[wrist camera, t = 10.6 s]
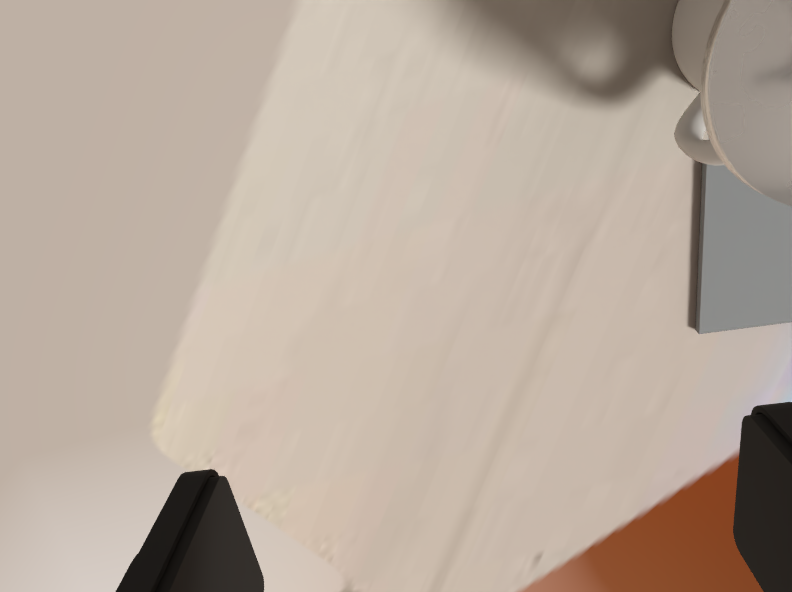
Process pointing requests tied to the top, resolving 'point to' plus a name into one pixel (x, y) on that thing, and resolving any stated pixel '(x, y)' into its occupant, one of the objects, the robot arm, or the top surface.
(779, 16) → the lid
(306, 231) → the top surface
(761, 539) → the robot arm
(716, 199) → the mat
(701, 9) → the mug
